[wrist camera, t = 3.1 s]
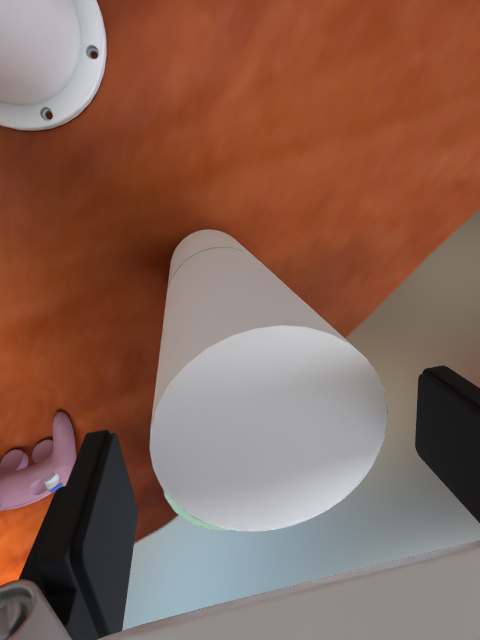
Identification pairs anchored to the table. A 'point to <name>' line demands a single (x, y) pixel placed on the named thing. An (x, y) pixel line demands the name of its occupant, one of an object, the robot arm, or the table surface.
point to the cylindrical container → (256, 395)
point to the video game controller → (38, 467)
